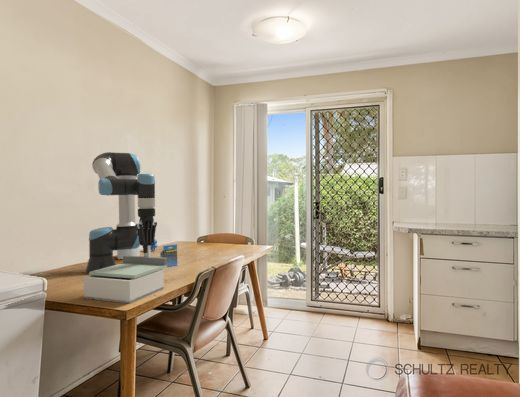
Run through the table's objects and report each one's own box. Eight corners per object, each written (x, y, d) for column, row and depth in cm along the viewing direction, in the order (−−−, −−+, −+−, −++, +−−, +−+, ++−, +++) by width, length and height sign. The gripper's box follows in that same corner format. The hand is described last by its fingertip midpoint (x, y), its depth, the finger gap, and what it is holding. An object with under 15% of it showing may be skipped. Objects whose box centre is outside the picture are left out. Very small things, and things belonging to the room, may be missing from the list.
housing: (83, 298, 142) (83, 277, 141) (122, 285, 162) (121, 266, 162) (130, 303, 134) (129, 281, 134) (163, 288, 155) (163, 269, 155)
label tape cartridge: (174, 264, 210) (173, 243, 210) (177, 265, 207) (177, 244, 207) (160, 266, 204) (160, 245, 204) (163, 267, 201) (163, 245, 201)
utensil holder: (135, 260, 226) (135, 232, 226) (112, 260, 226) (112, 232, 226) (143, 256, 241) (143, 230, 241) (121, 256, 241) (121, 230, 241)
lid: (89, 274, 144) (89, 264, 144) (126, 264, 165) (125, 255, 165) (134, 278, 137) (134, 267, 137) (167, 267, 158) (167, 257, 158)
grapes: (140, 252, 254) (140, 236, 254) (140, 251, 261) (140, 235, 261) (157, 252, 258) (157, 235, 258) (157, 250, 264) (157, 234, 264)
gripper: (148, 207, 169) (148, 257, 169) (130, 208, 157) (130, 262, 157) (161, 207, 167) (162, 257, 167) (144, 208, 155) (145, 262, 155)
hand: (147, 259), depth 162 cm, fingers closed
